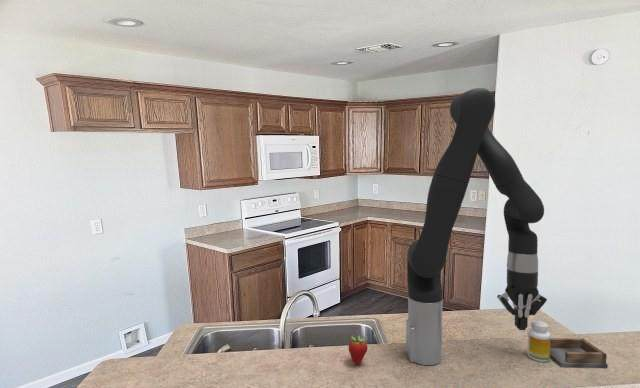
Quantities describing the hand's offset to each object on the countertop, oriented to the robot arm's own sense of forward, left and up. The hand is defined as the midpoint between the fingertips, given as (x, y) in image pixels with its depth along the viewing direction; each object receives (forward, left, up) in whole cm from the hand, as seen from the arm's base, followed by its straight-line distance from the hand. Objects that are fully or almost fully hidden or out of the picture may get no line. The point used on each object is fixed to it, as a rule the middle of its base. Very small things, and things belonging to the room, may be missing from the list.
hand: (521, 328), depth 99 cm
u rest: (+14, 0, -8) cm, 16 cm away
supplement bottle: (+5, 0, -8) cm, 10 cm away
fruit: (-46, -5, -8) cm, 47 cm away
